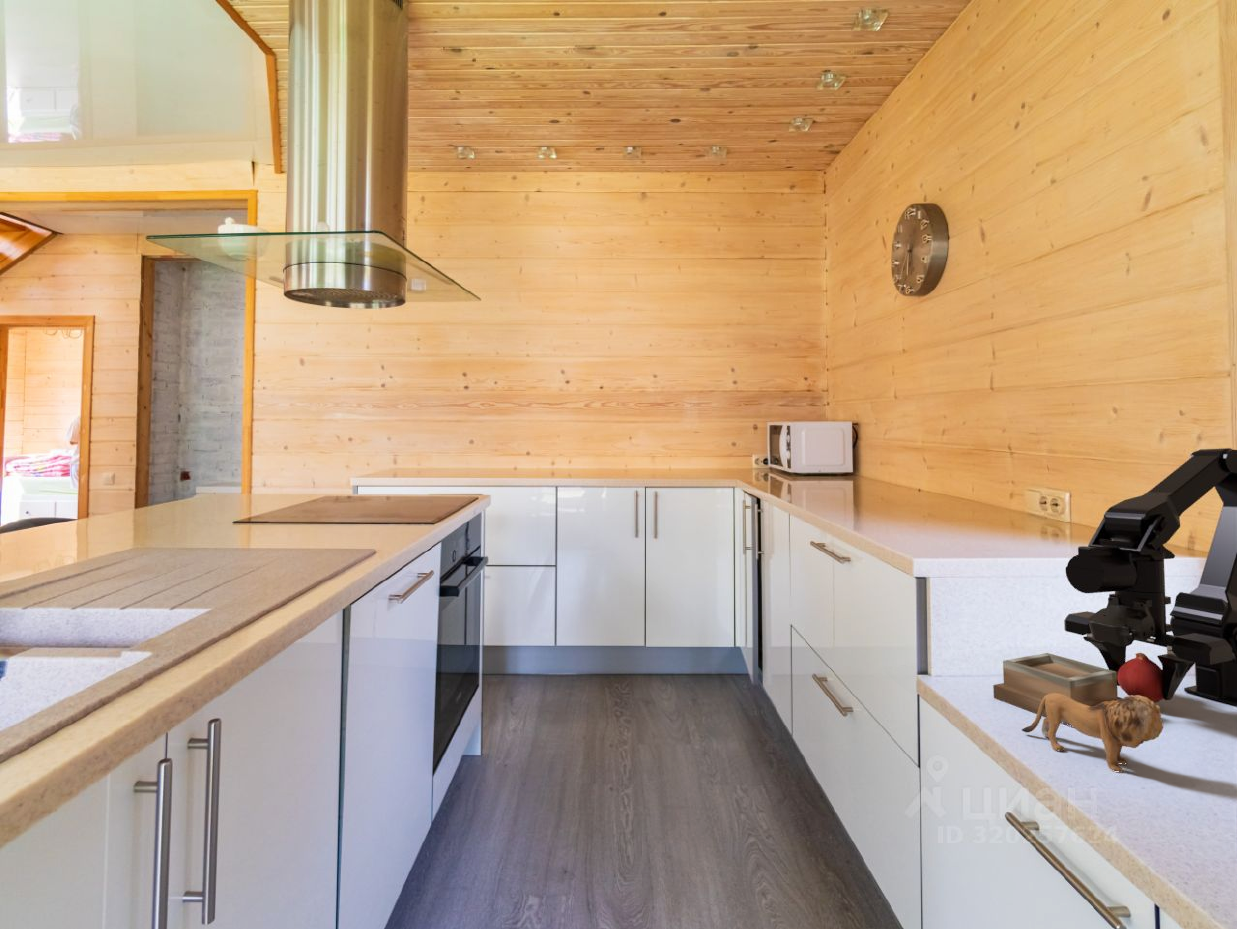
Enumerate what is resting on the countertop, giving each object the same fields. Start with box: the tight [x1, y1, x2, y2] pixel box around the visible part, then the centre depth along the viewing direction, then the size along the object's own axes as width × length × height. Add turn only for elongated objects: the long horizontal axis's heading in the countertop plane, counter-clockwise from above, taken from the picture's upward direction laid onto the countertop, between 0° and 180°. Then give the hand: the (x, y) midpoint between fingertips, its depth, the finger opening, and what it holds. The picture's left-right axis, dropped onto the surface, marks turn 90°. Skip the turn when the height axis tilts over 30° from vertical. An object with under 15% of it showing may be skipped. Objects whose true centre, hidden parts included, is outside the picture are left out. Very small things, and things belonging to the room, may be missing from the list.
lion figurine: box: [1021, 693, 1164, 773], centre depth 74 cm, size 15×5×9 cm, turn 34°
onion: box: [1117, 652, 1164, 704], centre depth 88 cm, size 6×6×8 cm
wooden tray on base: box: [992, 652, 1124, 726], centre depth 89 cm, size 12×12×6 cm
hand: (1142, 692), depth 88 cm, fingers closed on onion, 6 cm apart
